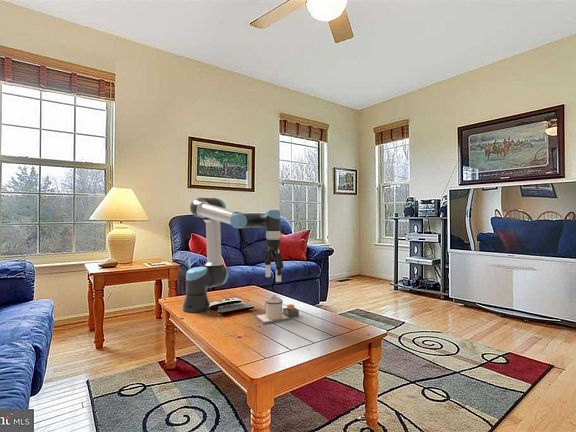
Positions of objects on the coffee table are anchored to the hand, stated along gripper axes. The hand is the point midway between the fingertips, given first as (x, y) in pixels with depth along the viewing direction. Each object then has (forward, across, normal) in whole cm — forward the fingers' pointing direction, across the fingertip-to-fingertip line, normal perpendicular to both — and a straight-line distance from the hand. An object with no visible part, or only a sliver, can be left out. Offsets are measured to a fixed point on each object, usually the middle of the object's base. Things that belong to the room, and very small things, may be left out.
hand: (273, 279), depth 170 cm
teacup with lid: (+20, 0, 0) cm, 20 cm away
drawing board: (+21, 0, 0) cm, 21 cm away
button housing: (+21, 0, -11) cm, 23 cm away
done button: (+18, 0, -11) cm, 21 cm away
